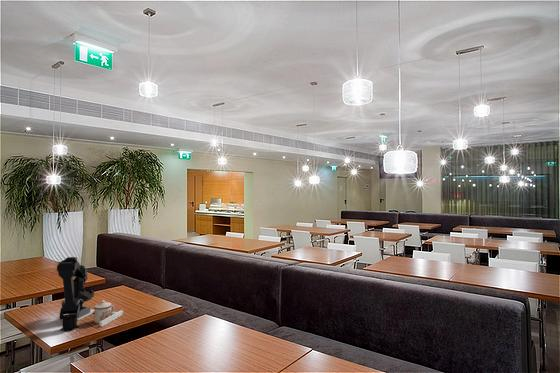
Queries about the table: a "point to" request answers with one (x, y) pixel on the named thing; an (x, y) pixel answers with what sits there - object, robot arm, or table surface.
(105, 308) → the teacup with lid
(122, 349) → the table surface
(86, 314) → the grey open storage bin
